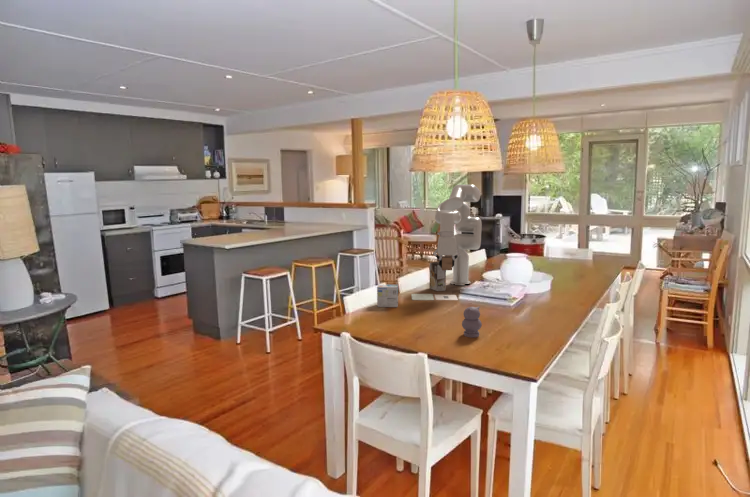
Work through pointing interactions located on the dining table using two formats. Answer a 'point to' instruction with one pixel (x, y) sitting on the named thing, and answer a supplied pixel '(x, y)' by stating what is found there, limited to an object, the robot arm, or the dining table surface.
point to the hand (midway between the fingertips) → (446, 266)
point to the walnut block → (446, 263)
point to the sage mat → (422, 297)
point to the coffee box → (437, 277)
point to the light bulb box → (387, 295)
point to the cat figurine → (471, 322)
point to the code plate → (446, 297)
